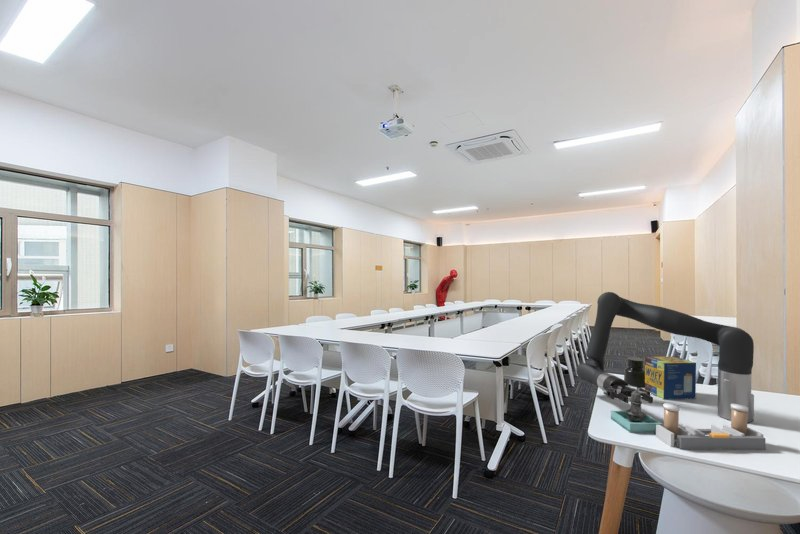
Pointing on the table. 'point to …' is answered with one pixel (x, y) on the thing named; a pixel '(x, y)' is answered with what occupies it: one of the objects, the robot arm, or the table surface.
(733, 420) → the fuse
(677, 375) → the protein box
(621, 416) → the tray
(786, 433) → the table surface
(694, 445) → the fuse rail
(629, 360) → the ink bottle
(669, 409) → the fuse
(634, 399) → the salt shaker
